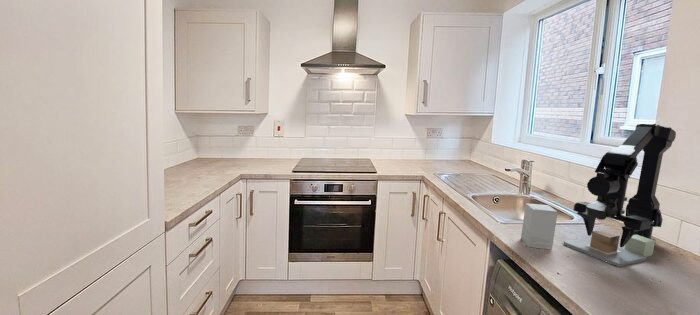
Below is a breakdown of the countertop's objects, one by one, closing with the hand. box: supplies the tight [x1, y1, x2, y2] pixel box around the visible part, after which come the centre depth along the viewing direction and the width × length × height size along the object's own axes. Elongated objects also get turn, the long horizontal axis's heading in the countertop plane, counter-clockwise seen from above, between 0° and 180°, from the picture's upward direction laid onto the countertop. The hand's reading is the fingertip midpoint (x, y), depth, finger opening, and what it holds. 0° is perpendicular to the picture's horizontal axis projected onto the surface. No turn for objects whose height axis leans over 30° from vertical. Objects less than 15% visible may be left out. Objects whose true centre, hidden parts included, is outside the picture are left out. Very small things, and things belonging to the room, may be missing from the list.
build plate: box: [562, 236, 648, 268], centre depth 103 cm, size 14×16×1 cm
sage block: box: [624, 235, 656, 258], centre depth 103 cm, size 5×5×5 cm
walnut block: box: [590, 229, 621, 253], centre depth 102 cm, size 5×5×5 cm
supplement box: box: [520, 202, 558, 250], centre depth 106 cm, size 7×7×13 cm
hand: (604, 241), depth 102 cm, fingers open, 9 cm apart
